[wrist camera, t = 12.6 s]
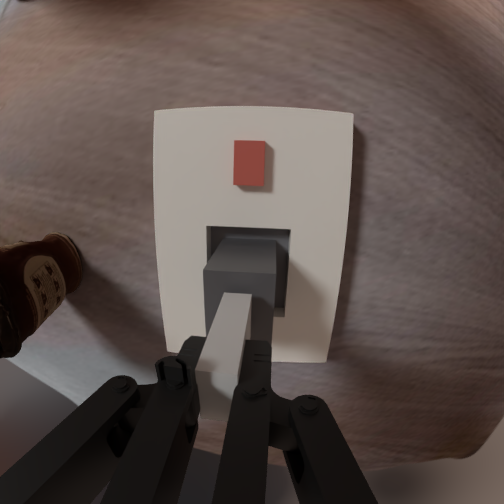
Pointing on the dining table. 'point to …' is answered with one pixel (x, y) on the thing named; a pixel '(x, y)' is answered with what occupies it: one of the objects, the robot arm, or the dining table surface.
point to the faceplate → (254, 212)
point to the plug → (243, 281)
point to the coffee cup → (34, 286)
